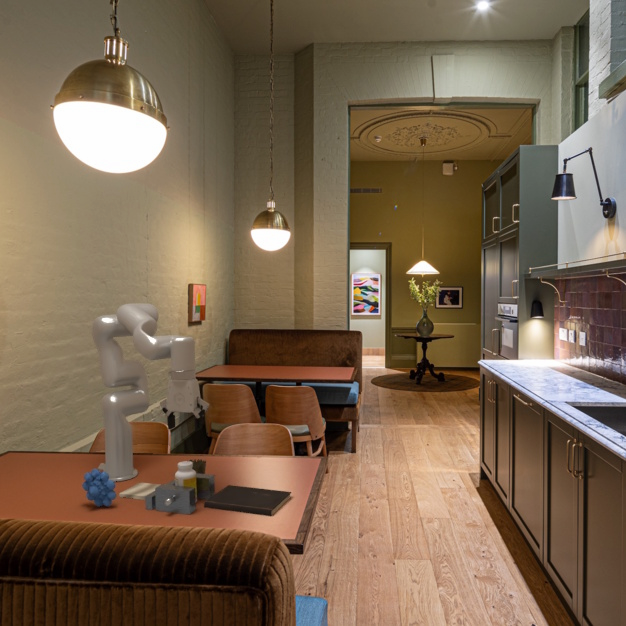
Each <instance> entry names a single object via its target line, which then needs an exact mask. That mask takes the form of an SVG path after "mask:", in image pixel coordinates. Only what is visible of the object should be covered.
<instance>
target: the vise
mask: <svg viewBox="0 0 626 626" xmlns="http://www.w3.org/2000/svg"><path fill="white" fill-rule="evenodd" d="M215 476H216V475H214V474H206V473H205V474H198V473H196V486H197V500H205V501H206V500H208V499H209V498H211V497H212V496H213V495H215V494H216V488H215V487H216V485H215V484H216V482H215V481H216V480H215V478H216V477H215ZM144 501H145V502H144V504H145V510H151V511H153V510H154V509H155V511H157V512H158V511H159V512H167V513H175V514H180V515H181V514H183V515H191V514H193V513H195V511H197V502H196V494H195V488H194V487H184V486H175V479H173V480H170V481H169V482H167V483H166V484H165V483H161V484H159V486H158V487H156V488H155V491H153V492H152V493H150V494H148V495H147V496H145V500H144Z"/></svg>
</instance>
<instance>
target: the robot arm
mask: <svg viewBox="0 0 626 626" xmlns="http://www.w3.org/2000/svg"><path fill="white" fill-rule="evenodd" d="M158 321H159V311H158V309H157V307H156V306H155V305H153V304H151V303H148V302H146V303H145V302H144V303H143V302H142V303H138V302H137V303H136V302H135V303H125V304H122V305H120V306H119V307H118V308H117V310H116V312H115V314H103V315H100V316H98V317H96V318H95V319H94V320H93V322H92V325H91V335H92V340H93V342H94V345H95V347H96V350H97V353H98V360H99V367H100V374H101V375H100V376H101V381H102V384H103V385H104V386H105V388H108V389H115V388H121V387H123V388H124V387H128V386H129V387H130V388H129V389H122V390H116V391H111V392H108V393H106V394H104V396H103V397H102V398H101V401H100V409H101V412H102V418H103V425H104V447H105V449H104V452H105V454H104V456H105V462H100V464H99V465H98V467H97V469H98V470H99V471H102V472H106V473H108V475H109V480H112V481H114V483H115V482H116V481H117V482H123V481H124V482H125V481H127V480H131V479H133V478H136V476H138V473H139V472H138V470H137V469H136V468H134V455H133V454H134V453H133V449H134V448H133V427H132V424H131V423H130V422H129V421H128V419H127V416H131V415H132V416H133V415H137V414H141V413H142V414H143V413H145V412H146V411H147V410H148V409H149V407H150V392H149V385H148V379H147V373H146V372H147V371H146V368H145V366H144V364H143V363H142V362H141V361H139V360H135V359H131V360H125V358H124V351H123V348H122V346H121V344H120V343H119V342H118V341H117V340H116V339H115V338H120V337H121V338H122V337H123V338H124V337H132V343H133V347H134V348H135V350H136V352H137V353H138V354H140V356H142V357H144V358H145V359H147V360H149V361H156V360H166V359H170V371H168V373H167V374H168V376H170V379H169V380H168V382H167V383H168V384H167V390H166V398H165V399H164V400H162V401H160V402H159V405H160V408H161V409H162V410H161V411H162V412H163V413H164V415H165V417H166V418H167V419H166V421H167V422H166V423H167V429H168V430H171V429H173V428H176V415H175V413H184V414H185V413H188V414H189V413H193V415H194V416H195V417H194V431H195V432H198V431H200V430H202V428H203V417H204V415H206V413H207V412H208V409H209V407H210V403H209V402H207V401H206V400H204V399H202V397H201V393H200V385H199V381H198V379H197V378H196V349H195V348H196V345H195V344H196V342H195V339H194V338H193V337H192V336H183V335H177V334H170V335H157V336H154V335H155V334H156V332H157V331H158ZM201 406H202V409H201Z"/></svg>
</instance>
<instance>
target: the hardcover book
mask: <svg viewBox="0 0 626 626" xmlns="http://www.w3.org/2000/svg"><path fill="white" fill-rule="evenodd" d="M291 494H292V492H291V491H287V490H277V489H275V490H274V489H268V488H259V487H251V486H250V487H249V486H240V485H232V484H228V485H227V486H225V487H224V488H222V489H221V490H219V491H218V492H215V495H213V496H212V497H211V498H209V499H208V500H205V501H204V502H203V507H204V509H205V508H206V509H213V510H221V511H230V512H236V513H244V514H250V515H251V514H252V515H259V516H266V517H273V516H272V515H274V514H275V513H276V512H277V511H278V510H279V509H280V508H281V507H282V506H283V505H284V504H285V503H287V501H288V500H289V499H290V498H291Z"/></svg>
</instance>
